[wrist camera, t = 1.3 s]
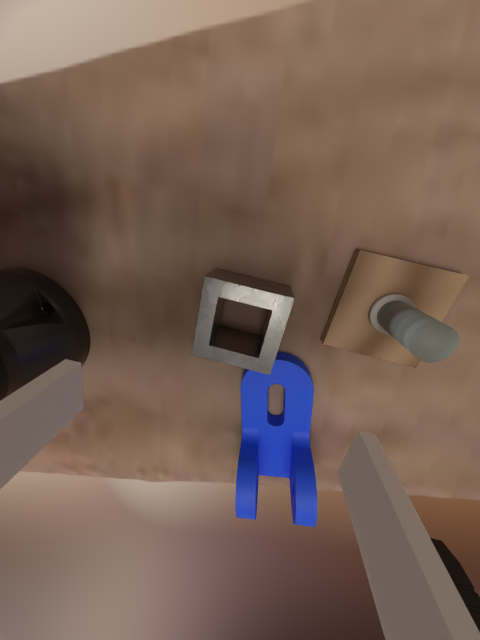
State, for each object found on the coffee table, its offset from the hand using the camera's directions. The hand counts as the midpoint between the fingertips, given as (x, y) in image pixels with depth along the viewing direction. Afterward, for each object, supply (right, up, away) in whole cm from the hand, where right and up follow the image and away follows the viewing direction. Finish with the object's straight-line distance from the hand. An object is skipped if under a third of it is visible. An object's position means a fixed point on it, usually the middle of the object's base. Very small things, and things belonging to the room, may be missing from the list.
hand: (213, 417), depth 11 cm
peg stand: (+16, +6, +13) cm, 22 cm away
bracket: (+6, -7, +20) cm, 22 cm away
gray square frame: (+2, +6, +15) cm, 17 cm away
